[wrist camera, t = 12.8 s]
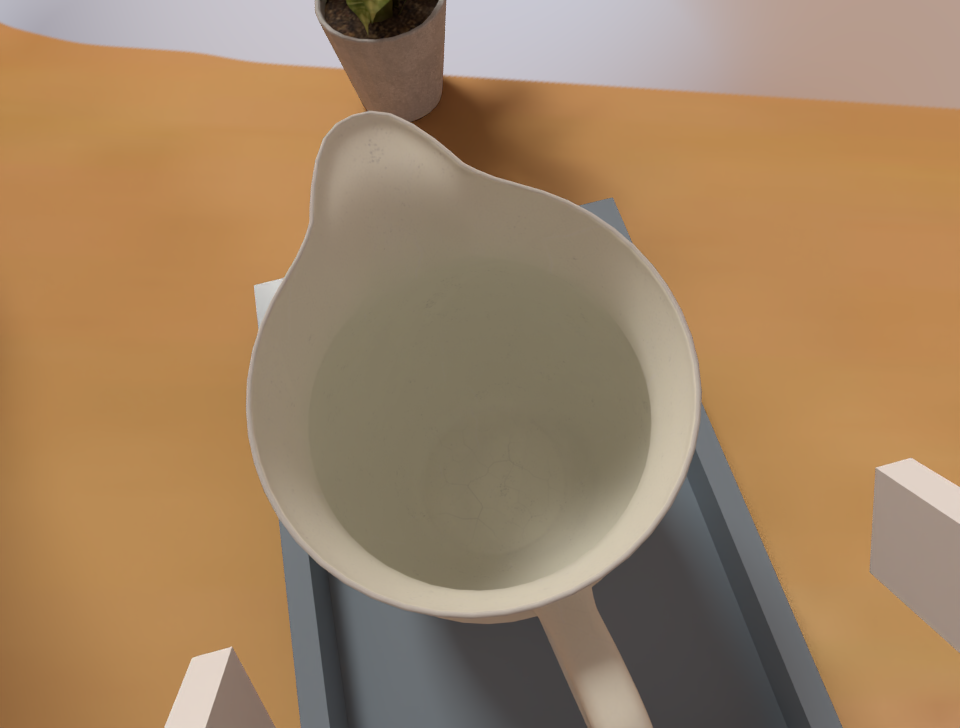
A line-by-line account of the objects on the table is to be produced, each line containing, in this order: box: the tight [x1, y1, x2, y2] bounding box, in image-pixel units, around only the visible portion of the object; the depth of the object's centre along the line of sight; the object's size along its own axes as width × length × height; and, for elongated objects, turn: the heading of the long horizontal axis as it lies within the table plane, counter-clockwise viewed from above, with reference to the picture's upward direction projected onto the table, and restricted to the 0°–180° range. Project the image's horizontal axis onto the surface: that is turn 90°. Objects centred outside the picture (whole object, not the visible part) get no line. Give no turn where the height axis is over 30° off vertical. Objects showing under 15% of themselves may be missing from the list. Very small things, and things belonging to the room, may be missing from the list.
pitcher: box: [246, 111, 702, 728], centre depth 18 cm, size 11×18×14 cm, turn 24°
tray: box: [254, 198, 843, 728], centre depth 24 cm, size 25×18×3 cm
